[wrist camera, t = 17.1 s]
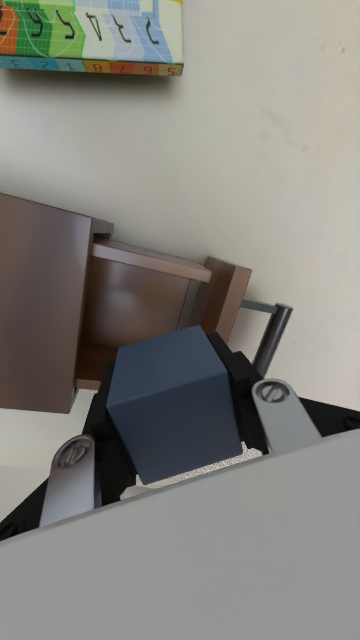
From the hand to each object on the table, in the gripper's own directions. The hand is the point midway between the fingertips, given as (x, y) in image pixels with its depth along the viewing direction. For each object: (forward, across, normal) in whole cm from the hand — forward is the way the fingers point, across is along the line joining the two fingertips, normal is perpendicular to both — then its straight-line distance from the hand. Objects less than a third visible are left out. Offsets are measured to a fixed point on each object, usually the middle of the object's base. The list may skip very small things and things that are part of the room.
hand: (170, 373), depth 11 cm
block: (0, 0, 0) cm, 0 cm away
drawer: (+11, -1, 0) cm, 11 cm away
